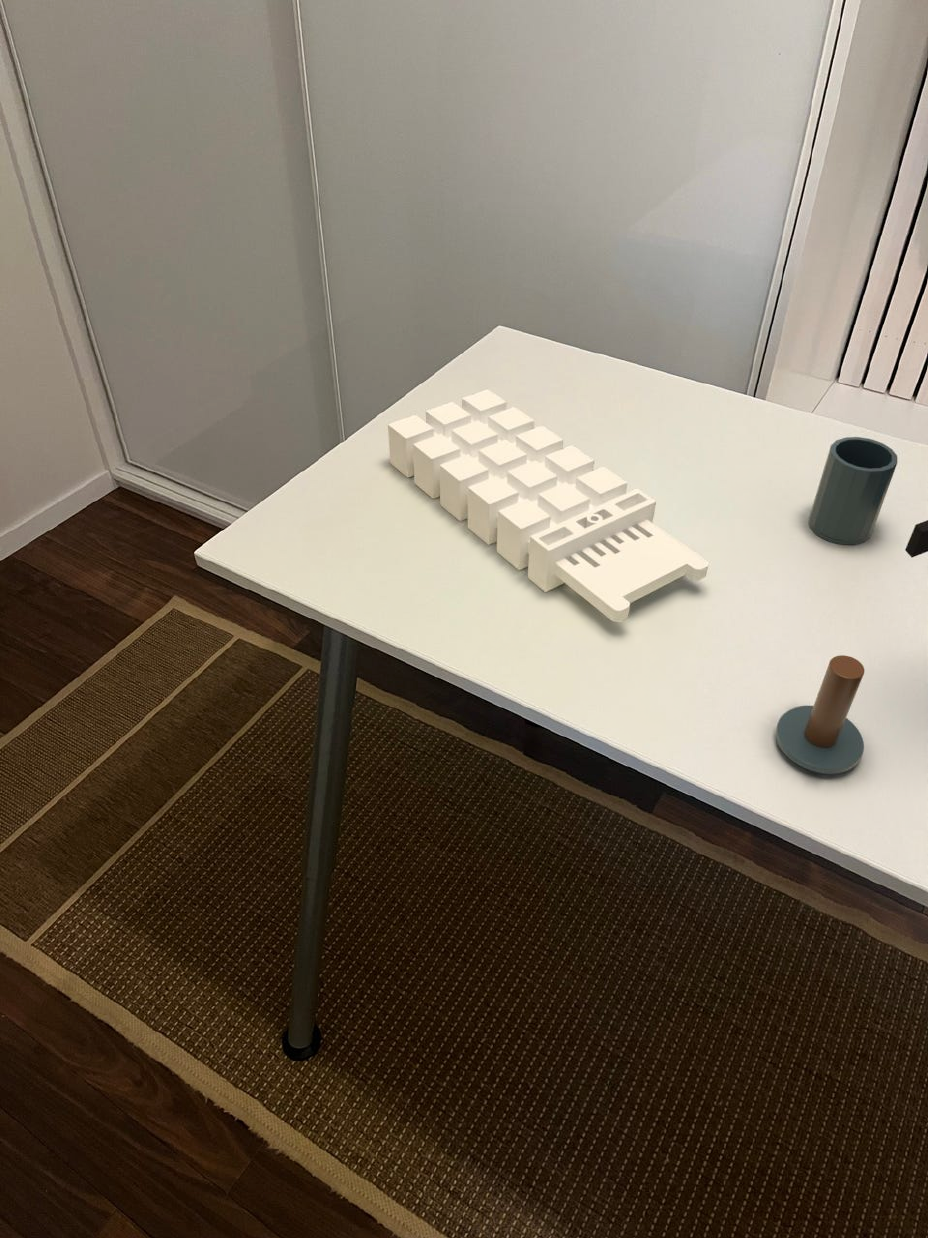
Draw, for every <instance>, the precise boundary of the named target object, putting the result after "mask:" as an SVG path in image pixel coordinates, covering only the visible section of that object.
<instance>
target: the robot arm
mask: <svg viewBox="0 0 928 1238" xmlns="http://www.w3.org/2000/svg"><path fill="white" fill-rule="evenodd" d="M904 550H905V551H906V553H907V554H908V555H909V556H910V558H911V559H912V558H915V557H918V556H920V555H923V554H925V553H927V552H928V519H927V520H924V521H922V522H921V521H920V522H919V523H916V524H915V525H914V528H913V530H912V532H911V535H910V536H909V540H908V542H907V544H906V546H905V549H904Z"/></svg>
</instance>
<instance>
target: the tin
mask: <svg viewBox="0 0 928 1238" xmlns="http://www.w3.org/2000/svg"><path fill="white" fill-rule="evenodd" d="M898 462H899V461H898V455H897V454H896V452H895V450H893V448H891V447H889V446H888V445H886V444H885V443H884V442H880V441H877V440H876V439H871V438H868V437H861V436H849V437H848V436H847V437H842V438H839V439H836V440H835V441H833V443H831V444H830V448H829V450H828V454H827V457H826V460H825V464H824V467H823V469H822V473H821V477H820V480H819V483H818V486H817V490H816V493H815V496H814V500H813V504H812V506H811V510H810V513H809V517H808V526H809V527H810V529H811V531H812V532H813V533H814V534H815V535H816V536H818V537H819V538H821V539H823V540H825V541H827V542H830V543H833V544H838V545H844V546H845V545H846V546H853V545H859V544H862V543H864V542H867V540H868V539H870V537H871V534H872V533H873V531H874V529H875V526H876V523H877V520H878V517H879V515H880V512H881V510H882V508H883V507H882V506H883V504H884V501H885V498H886V495H887V493H888V490H889V487H890V485H891V482H892V479H893V477H894V473H895V470H896V468H897V465H898Z"/></svg>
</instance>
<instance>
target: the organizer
mask: <svg viewBox="0 0 928 1238" xmlns="http://www.w3.org/2000/svg"><path fill="white" fill-rule="evenodd" d="M507 405H508V404H507V401H506V400H504V399H503V398H502V397H500V396H498V395H497V394H495V393H494V392H492V391H491V390H489V389H484V390H482V391H479V392H475V393H473V394H470V395H467V396H464V397H462V398H461V406H460V405H458V404H456V403H455V402H454V401H450V402H448V403H444V404H442V405H439V406H436V407H434V408H433V407H432V408H430V409H427V410H425V420H423V419H422V418H421V417H419V416H418V415H417V414H413V415H411V416H407V417H405V418H402V419H399V420H396V421H394V422H391V423H388V424H387V431H388V432H387V433H388V448H389V449H388V450H389V464H390V465H392V466H393V467H394V468H395V469H396V470H398V471H399V472H400V473H401V474H402V475H404V476H405V478H406V479H407V478H408V479H409V478H411V477H414V478H413V479H414V485H415V486H417V487H418V488H419V489H421V491H423V492H424V493H425V494H426V495H428V496H429V497H430V498H431V499H432V500H434V499H436V498H439V505H440V506H441V507H442V508H443V509H444V510H445V511H447V512H448V513H449V514H451V515H452V516H453V517H454V518H455V519H457V520H458V521H459V522H462V521H464V520H467V529H469V530H470V531H471V532H472V533H473V534H474V535H476V536H477V537H478V538H479V539H481V540H482V541H483V542H484V543H485V544H487V546H490V545H492V544H494V543H496V553H498V555H499V556H501V557H502V558H503V559H504V560H506V561H507V562H508V563H509V564H510V565H512V566H513V567H514V568H515V569H516V570H518V571H521V570H523V569H525V568H527V579H528V580H530V581H531V582H532V583H534V585H536V586H537V587H538V588H539V589H541V590H542V591H543V592H544V593H547V592H549V591H551V590H554V589H556V588H557V587H560V586H561V585H564V584H566V585H567V586H568V587H569V588H571V590H573V591H574V592H576V593H577V594H578V595H579V596H580V597H582V598H583V599H584V600H585V601H587V603H589V604H590V605H591V606H593V607H594V608H595V609H597V610H598V612H600V613H602V614H603V615H604V616H605V617H606V618H608V619H609V620H610V621H612V622H614V623H621V622H623V621H625V620H627V619H628V618H629V613H630V608H631V607H630V606H631V603H633V602H636V601H637V600H639V599H642V598H643V597H645V596H646V595H649V594H651V593H652V592H654V591H656V590H658V589H660V588H662V587H664V586H666V585H668V584H670V583H672V582H674V581H676V580H678V579H680V578H681V577H684V576H686V577H687V578H689V579H690V580H691V581H696V582H697V581H701V580H703V579H704V578H706V577H707V573H708V568H709V564H710V563H709V561H708V560H706V559H705V558H703V557H702V556H701V555H699V554H698V553H697V552H695V551H693V550H692V549H691V548H689V547H687V545H684V544H683V543H682V542H680V541H679V540H678V539H676V538H675V537H673V536H671V535H670V534H669V533H667V532H666V531H664V530H663V529H661V528H660V527H658V526H657V525H656V524H654V523H653V521H654V517H655V510H656V505H657V500H655V499H653V498H652V497H650V496H649V495H647V494H646V493H644V492H643V491H642V490H640V489H638V488H635V489H633V490H631V491H627V488H628V481H626V480H624V479H623V478H622V477H620V476H619V475H617V474H615V473H614V472H613V471H611V470H610V469H608V468H607V467H605V466H603V465H602V466H600V467H598V468H596V469H595V468H594V467H595V459H593V458H592V457H591V456H588V455H587V454H586V453H584V452H582V451H581V450H579V449H578V448H577V447H575V446H574V445H572V444H570V445H569V446H566V447H564V439H563V438H561V437H560V436H559V435H557V434H556V433H554V432H553V431H551V430H550V429H548V428H547V427H545V426H544V425H539V426H537V427H535V420H534V419H533V418H532V417H530V416H529V415H527V414H525V413H524V412H523V411H521V410H520V409H518V408H516V407H515V406H512V407H510V408H507Z"/></svg>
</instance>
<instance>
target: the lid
mask: <svg viewBox="0 0 928 1238" xmlns="http://www.w3.org/2000/svg"><path fill="white" fill-rule="evenodd" d="M864 674H865V667H864V665H863V664H862V662H861V661H859V660H858V659H856V658H855V657H852V656H849V655H842V654H841V655H836V656H834V657H832V658H831V659H830V661H829V663H828V666H827V668H826V671H825V673H824V676H823V679H822V682H821V684H820V687H819V689H818V692H817V694H816V695H817V696H816V697H815V701H814V704H813V705H801V706H796V707H792V708H791V709H789V710H787V711H786V712H784V713H783V714H782V715H781V717H780V718H779V720H778V722H777V725H776V728H775V738H776V742H777V744H778V746H779V748H780V750H781V751H782V752H783V754H784V755H785V756H786V757H787V758H788V759H789V760H791V761H792V762H793V763H794V764H796V765H798V766H800V767H801V768H803V769H806V770H808V771H810V772H815V773H819V774H820V773H821V774H826V775H827V774H828V775H832V774H842V773H845V772H847V771H850V770H851V769H853V768H854V767H855V766H857V764H859V762H860V760H861V759H862V756H863V754H864V750H865V745H864V743H865V742H864V738H863V736H862V734H861V732H860V730H859V729H858V727H857V726H856V725H855V724H854V723H853V722H852V721H851V720H850V719H848V715H849V712H850V709H851V706H852V704H853V702H854V699H855V697H856V695H857V692H858V690H859V688H860V684H861V682H862V679H863V677H864Z"/></svg>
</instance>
